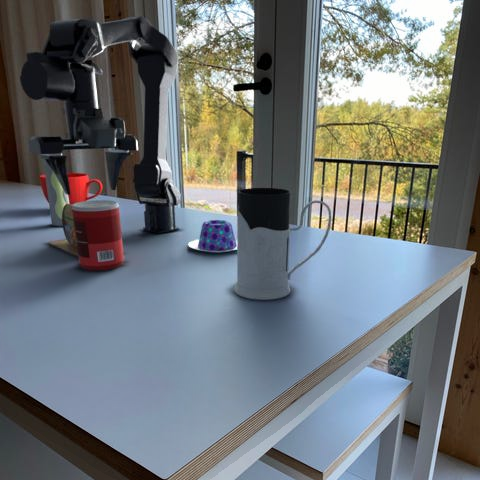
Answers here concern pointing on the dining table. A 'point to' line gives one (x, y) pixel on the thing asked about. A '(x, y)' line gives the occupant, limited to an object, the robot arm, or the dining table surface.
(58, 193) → the spray bottle
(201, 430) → the dining table surface
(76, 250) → the cork coaster
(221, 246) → the pudding
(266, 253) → the glass holder
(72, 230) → the tin
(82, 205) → the canned food
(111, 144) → the robot arm
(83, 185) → the ceramic cup
